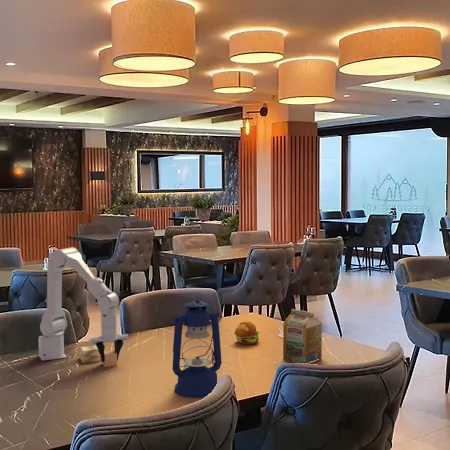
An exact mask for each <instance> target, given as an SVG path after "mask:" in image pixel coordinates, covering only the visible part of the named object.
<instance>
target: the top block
mask: <svg viewBox="0 0 450 450" xmlns="http://www.w3.org/2000/svg"><path fill="white" fill-rule="evenodd" d="M80 353H81V354H82V355H83V357H92V356H100V353H99V351H98V348H97V346H96V344H94V345H88V346H81V347H80Z"/></svg>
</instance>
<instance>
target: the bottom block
mask: <svg viewBox="0 0 450 450" xmlns="http://www.w3.org/2000/svg"><path fill="white" fill-rule="evenodd" d="M78 355H79V358H80V359H79V360H80V361H81V363H83V364H86V363H87V364H88V363H95V362H102V361H101V357H100V356H92V357H83V355H82V354H81V352H80V353H79V354H78Z"/></svg>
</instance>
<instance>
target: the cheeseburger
mask: <svg viewBox="0 0 450 450" xmlns="http://www.w3.org/2000/svg"><path fill="white" fill-rule="evenodd" d="M259 333H260V331H257V327H256V324H254V322H252V321H243V322H240V323H238V325H237V326H236V328H235V330H234V332H233V334H234V335H235V338H236V340H237V343H239V344H242V345H255V344H257V343H258V342H259V336H260V335H259Z"/></svg>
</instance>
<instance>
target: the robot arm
mask: <svg viewBox="0 0 450 450" xmlns="http://www.w3.org/2000/svg"><path fill="white" fill-rule="evenodd" d="M66 268H69V269H74V270H75V271H76V273H78V274H79V275H80V277H82V279H83V280H84V281H85V282H86V283H87V287H86V288H87V290H89V293H91V294H92V296H93V297H94V298H95V299H96V300H97V301H96V302H97V306H98V308H99V313H100V322H101V323H100V333H101V335H100V336H97V337H90V338H89V339H88V340H89V344H90V346H93V345H96V346H97V348H98V351H99V353H100V357H101V361H100V362H104V360H105V359H104V352H105V348H106V347H105V345H104V343H110V342H111V343H113V345H114V346H113V347H114V351H115V352H116V353H117V361H119V356H120V352H121V349H122V347H123V346H124V341H129V337H130V336H129V334H128V333H124V334H123V333H122V334H117V333H118V331H117V330H118V328H117V327H118V326H117V307H118V305H119V303H120V298H119V296H118V294H117V293H116V292H113V291H112V290H111V289H110V288H108V287H107V286H106V284H105V283H104V280H103V279H101V278H100V277H95V276H94V274H93V273H92V272H91V270H90V268H89V267H88V266H87V264H86V262H84V259H83V257H82V254H81V253H80V252H79V250H78V249H77V248H76V247H73V246H71V247H66V248H61V249H54V250H53V251H51V253H50V254H49V261H48V264H47V268H46V269H47V277H46V279H47V280H46V282H47V283H46V284H47V286H46V311H45V313H43V314H42V317H41V322H40V325H39V329H40V333H41V334H42V335H39V336H38V356H39V359H40V360H41V361H49V360H57V359H59V360H60V359H65V358H67V355H66V354H65V346H64V345H65V344H64V341H65V340H64V339H65V338H64V334H65V331H66V329H67V328H68V320H67V319H66V312H65V311H63V309H62V307H63V306H62V305H63V303H62V302H63V301H62V300H63V299H62V298H63V297H62V296H63V288H62V287H63V271H64V270H65V269H66Z"/></svg>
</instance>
